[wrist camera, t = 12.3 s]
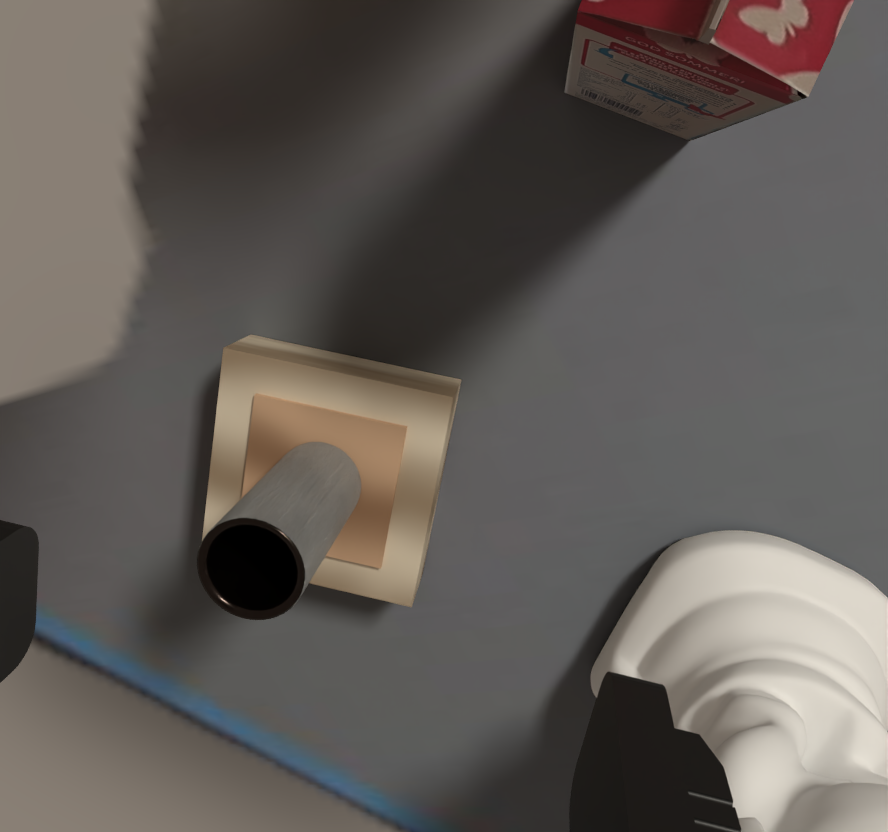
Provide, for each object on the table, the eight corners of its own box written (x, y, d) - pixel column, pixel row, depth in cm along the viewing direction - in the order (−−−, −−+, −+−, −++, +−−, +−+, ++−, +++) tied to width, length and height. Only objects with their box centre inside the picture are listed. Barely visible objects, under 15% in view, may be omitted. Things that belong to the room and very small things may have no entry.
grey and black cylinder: (294, 530, 43) (219, 631, 33) (265, 452, 42) (179, 532, 32) (373, 511, 42) (320, 609, 32) (346, 431, 41) (282, 506, 31)
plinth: (251, 334, 45) (221, 348, 41) (461, 379, 44) (452, 398, 40) (227, 528, 48) (197, 559, 44) (422, 573, 48) (410, 609, 43)
